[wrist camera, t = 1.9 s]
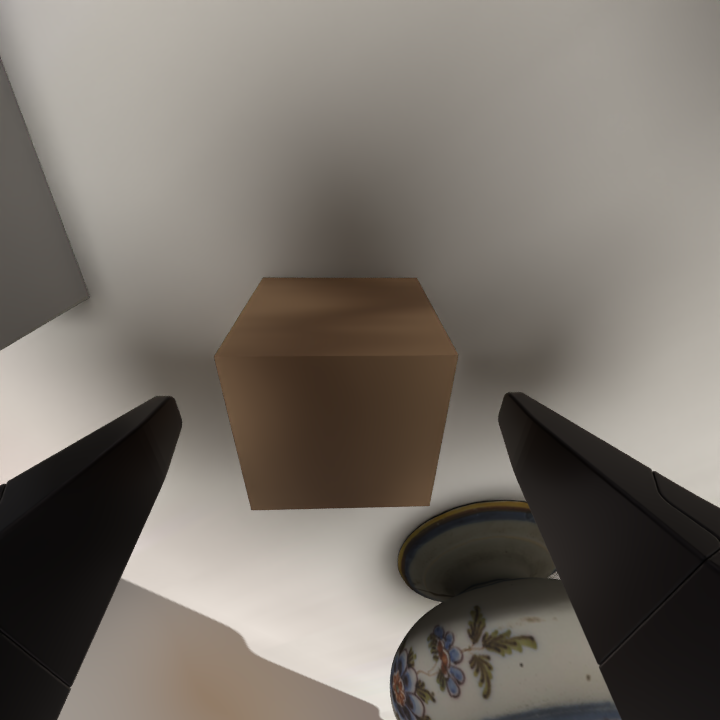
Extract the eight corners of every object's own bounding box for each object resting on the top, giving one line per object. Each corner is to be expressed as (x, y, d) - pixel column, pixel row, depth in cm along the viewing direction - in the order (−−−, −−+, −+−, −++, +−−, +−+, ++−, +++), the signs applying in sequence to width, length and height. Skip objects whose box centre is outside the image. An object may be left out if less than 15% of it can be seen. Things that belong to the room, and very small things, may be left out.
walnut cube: (416, 277, 11) (458, 355, 7) (403, 396, 14) (429, 506, 10) (263, 276, 11) (213, 356, 7) (280, 398, 14) (251, 510, 10)
